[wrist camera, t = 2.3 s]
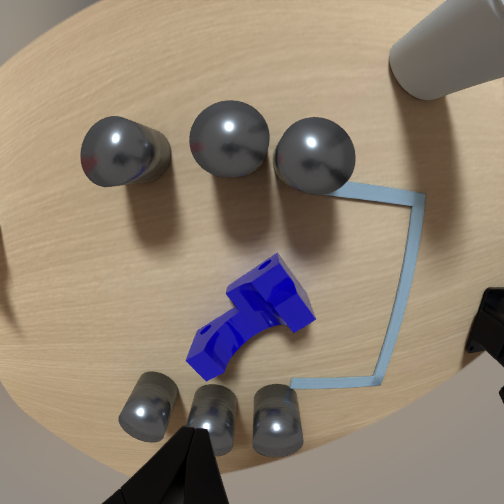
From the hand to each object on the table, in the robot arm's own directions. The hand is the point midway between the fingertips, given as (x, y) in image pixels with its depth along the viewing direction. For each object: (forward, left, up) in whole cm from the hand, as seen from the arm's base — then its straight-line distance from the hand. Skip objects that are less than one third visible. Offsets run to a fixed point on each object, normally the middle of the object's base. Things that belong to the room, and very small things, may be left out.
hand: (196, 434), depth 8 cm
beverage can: (-12, -17, -12) cm, 24 cm away
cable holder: (-1, +1, -12) cm, 12 cm away
